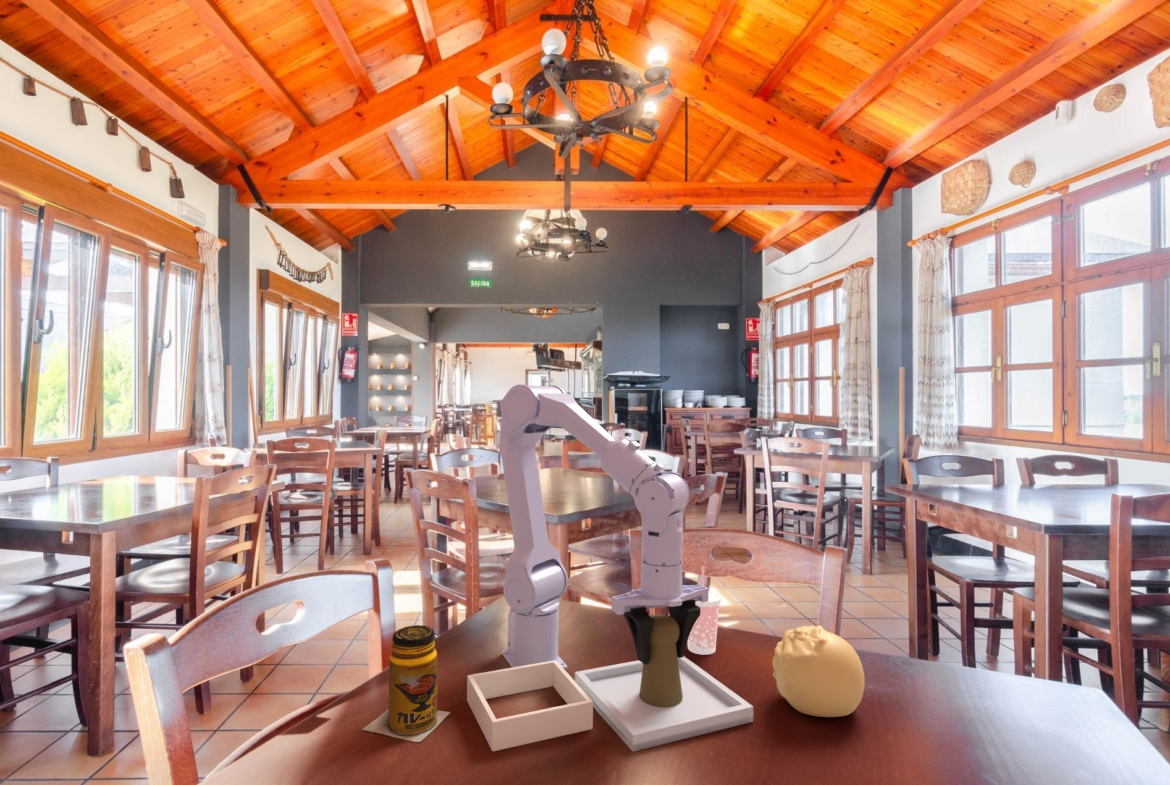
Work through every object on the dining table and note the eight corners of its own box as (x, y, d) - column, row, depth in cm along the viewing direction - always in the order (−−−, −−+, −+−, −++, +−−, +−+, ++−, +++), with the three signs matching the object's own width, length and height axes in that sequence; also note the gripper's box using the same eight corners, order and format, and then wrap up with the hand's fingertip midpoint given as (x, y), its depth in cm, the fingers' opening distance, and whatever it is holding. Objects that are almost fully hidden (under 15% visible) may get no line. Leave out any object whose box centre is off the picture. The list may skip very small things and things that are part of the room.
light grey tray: (574, 685, 91) (574, 672, 91) (679, 665, 99) (679, 652, 99) (632, 751, 75) (633, 735, 75) (753, 721, 82) (753, 706, 82)
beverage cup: (712, 659, 101) (714, 573, 101) (677, 650, 104) (679, 567, 104) (725, 647, 106) (726, 565, 106) (691, 638, 109) (692, 559, 109)
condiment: (420, 743, 76) (421, 645, 76) (361, 731, 78) (363, 636, 78) (450, 714, 83) (451, 624, 83) (395, 703, 85) (397, 616, 85)
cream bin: (466, 700, 86) (467, 675, 86) (555, 683, 92) (555, 660, 92) (492, 751, 74) (492, 722, 74) (592, 728, 80) (593, 701, 80)
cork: (684, 707, 84) (684, 626, 83) (639, 706, 84) (639, 625, 84) (680, 685, 90) (680, 610, 89) (638, 684, 90) (638, 609, 90)
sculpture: (773, 680, 94) (774, 609, 94) (860, 695, 90) (861, 620, 90) (769, 718, 83) (771, 637, 83) (867, 736, 79) (869, 652, 79)
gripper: (629, 574, 80) (627, 679, 80) (722, 563, 86) (720, 661, 86) (605, 560, 86) (603, 657, 86) (693, 550, 92) (691, 641, 92)
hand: (660, 658), depth 87 cm, fingers closed on cork, 5 cm apart
